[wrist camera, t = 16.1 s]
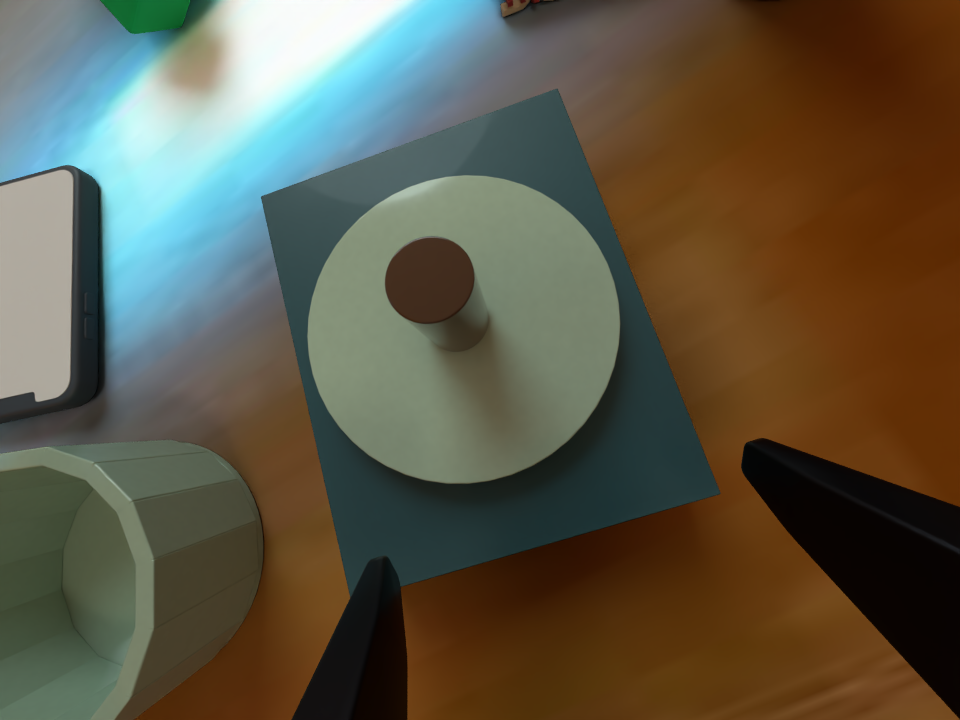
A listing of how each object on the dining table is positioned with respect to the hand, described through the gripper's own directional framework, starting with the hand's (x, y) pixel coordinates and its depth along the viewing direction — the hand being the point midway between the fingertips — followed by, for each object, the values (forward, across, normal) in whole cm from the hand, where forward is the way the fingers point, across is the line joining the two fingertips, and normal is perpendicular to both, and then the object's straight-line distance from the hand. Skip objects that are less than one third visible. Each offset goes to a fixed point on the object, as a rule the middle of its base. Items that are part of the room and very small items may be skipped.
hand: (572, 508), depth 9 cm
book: (+13, 0, +2) cm, 14 cm away
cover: (+10, +1, -1) cm, 10 cm away
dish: (+12, +21, +8) cm, 25 cm away
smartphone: (+24, +26, -5) cm, 36 cm away
